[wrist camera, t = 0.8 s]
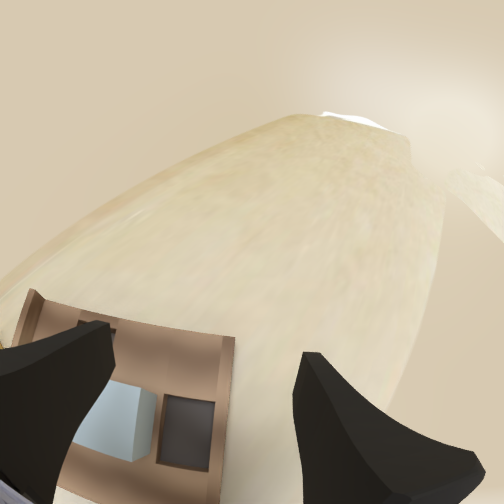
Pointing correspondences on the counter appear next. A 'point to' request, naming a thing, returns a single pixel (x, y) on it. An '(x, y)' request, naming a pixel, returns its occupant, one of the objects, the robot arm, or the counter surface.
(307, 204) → the counter surface
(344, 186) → the counter surface
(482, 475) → the robot arm
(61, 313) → the board
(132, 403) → the blue block
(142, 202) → the counter surface
